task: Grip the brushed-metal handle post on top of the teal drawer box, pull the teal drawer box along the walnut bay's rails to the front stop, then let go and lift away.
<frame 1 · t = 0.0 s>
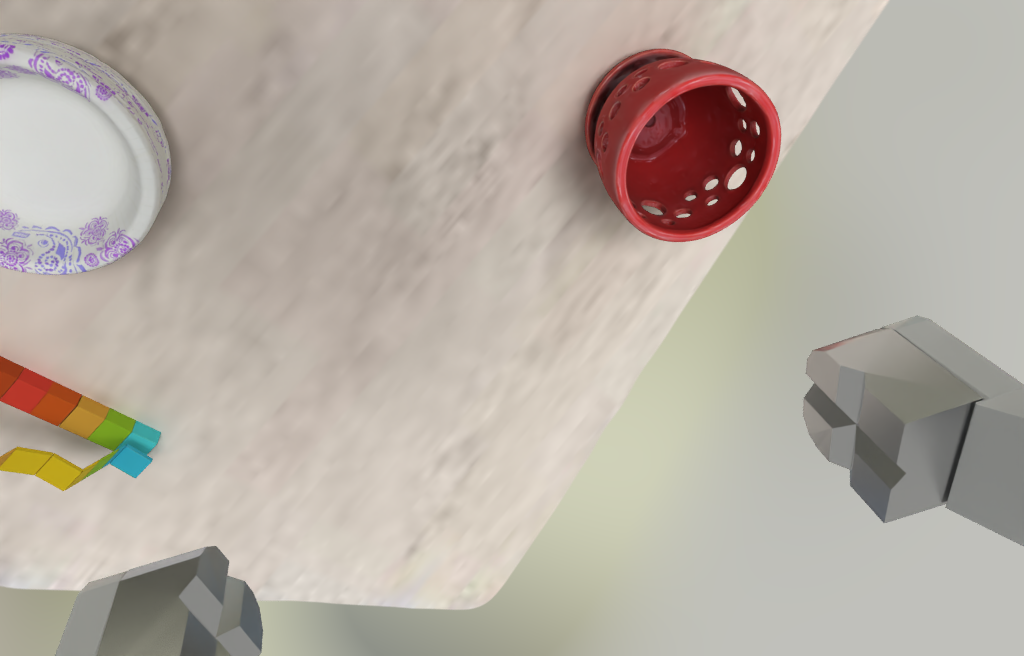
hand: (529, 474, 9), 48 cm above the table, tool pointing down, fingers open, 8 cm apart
plant pot: (638, 119, 58), on the table
paper bowls: (66, 135, 48), on the table
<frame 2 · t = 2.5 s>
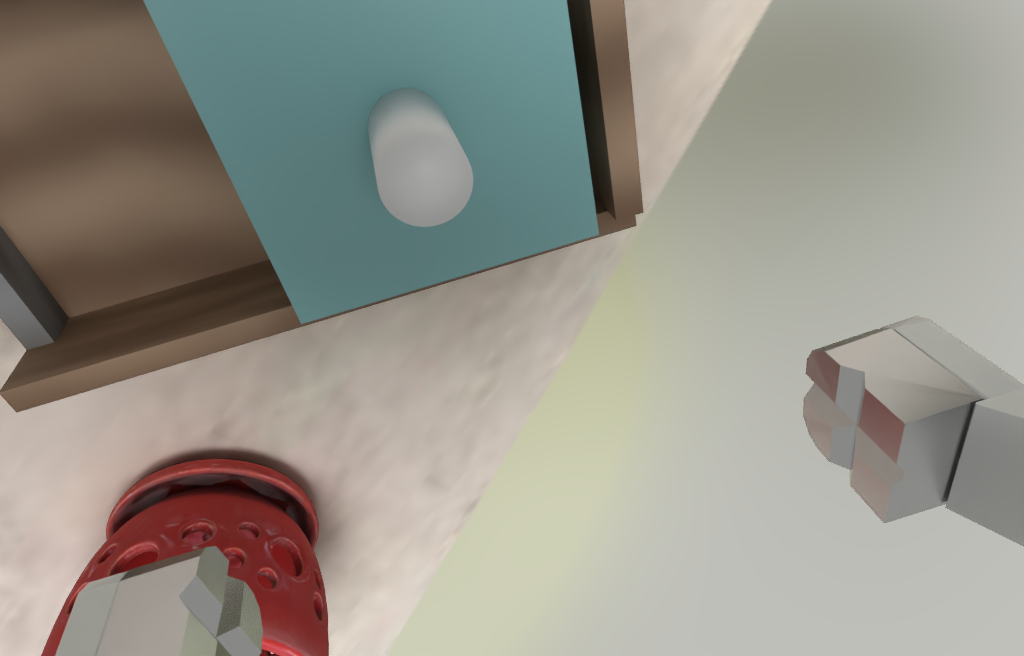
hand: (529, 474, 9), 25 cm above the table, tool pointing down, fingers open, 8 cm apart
bay: (274, 102, 28), on the table
plant pot: (218, 514, 41), on the table
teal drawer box: (400, 121, 22), point 8 cm above the table, slide at 11.0 cm
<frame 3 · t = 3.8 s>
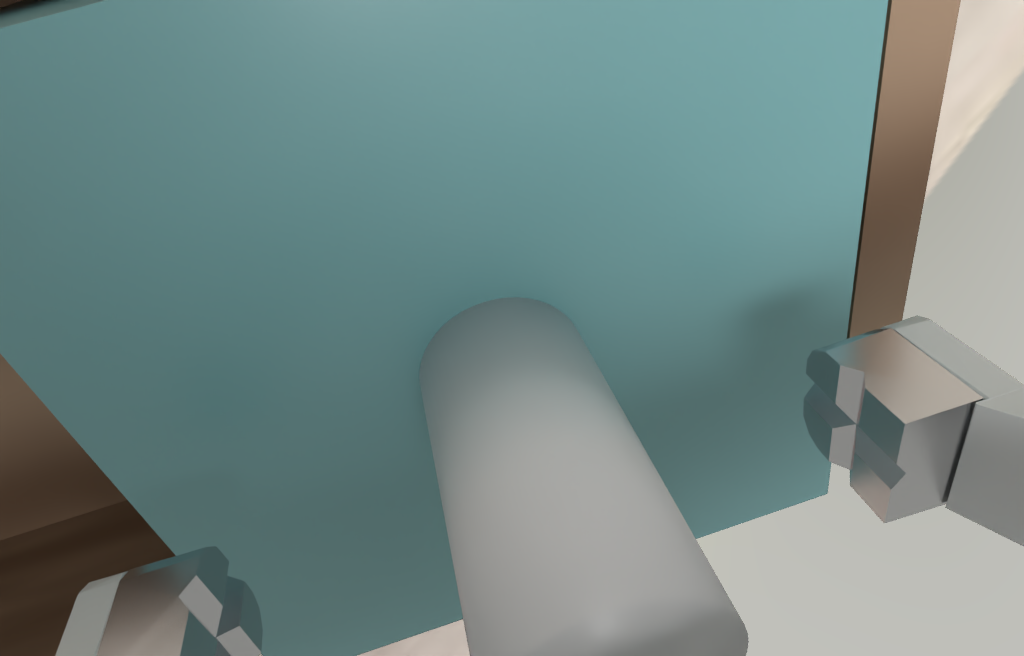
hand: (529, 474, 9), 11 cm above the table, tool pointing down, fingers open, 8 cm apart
bay: (241, 231, 17), on the table
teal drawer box: (481, 337, 11), point 8 cm above the table, slide at 11.0 cm
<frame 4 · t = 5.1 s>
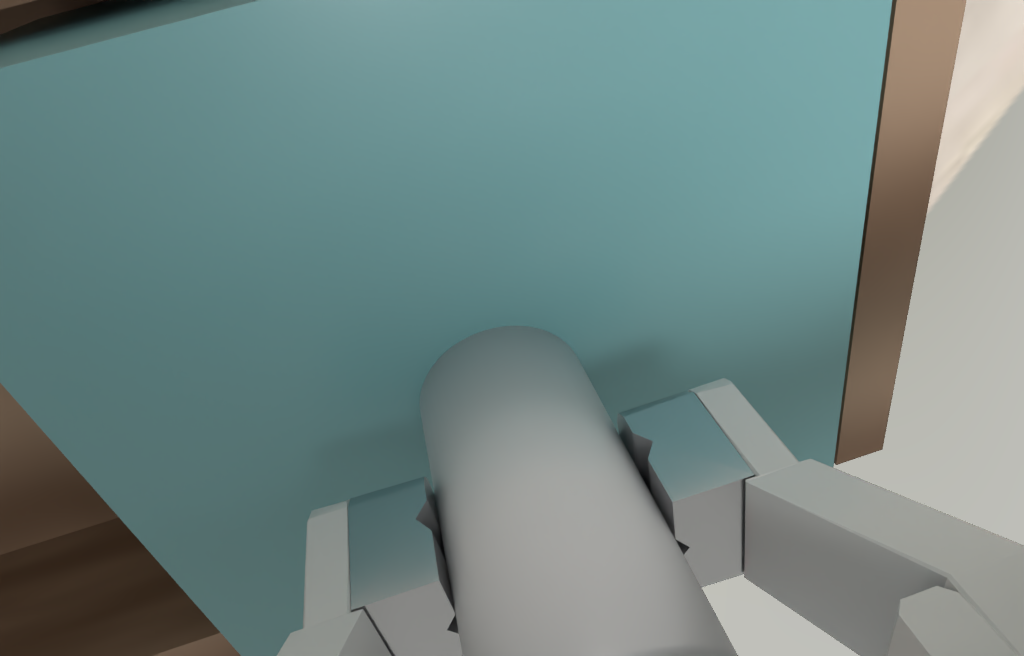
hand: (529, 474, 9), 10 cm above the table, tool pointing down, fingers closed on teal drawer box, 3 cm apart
bay: (242, 248, 17), on the table
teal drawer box: (482, 361, 11), point 8 cm above the table, slide at 11.0 cm, touching gripper
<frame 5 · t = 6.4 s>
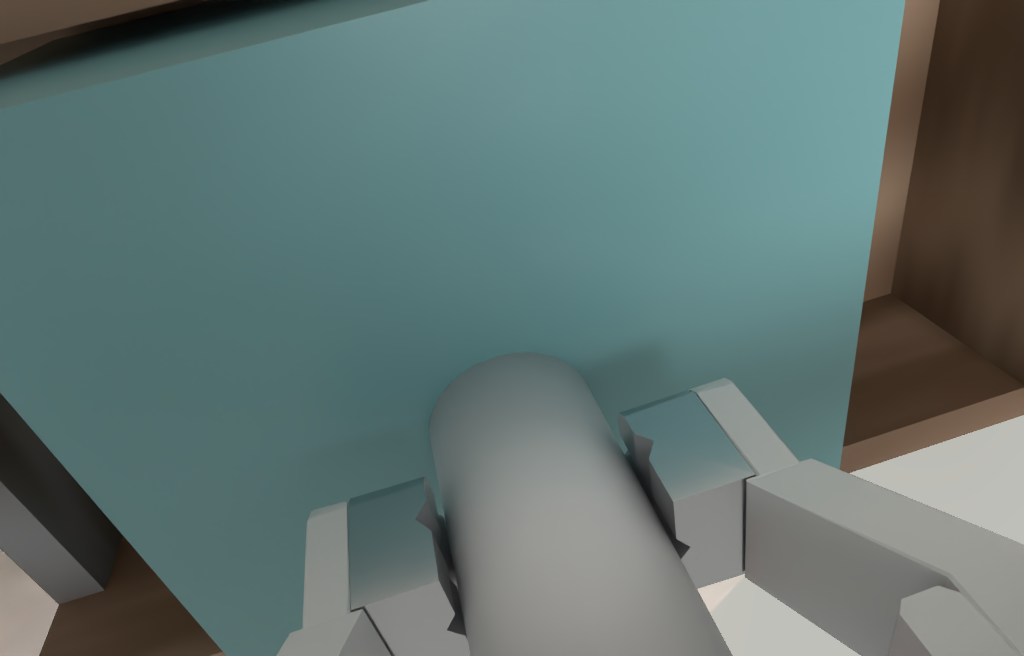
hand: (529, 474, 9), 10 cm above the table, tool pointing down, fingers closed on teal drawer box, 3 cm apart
bay: (472, 202, 17), on the table
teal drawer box: (490, 385, 11), point 8 cm above the table, slide at 4.9 cm, touching gripper
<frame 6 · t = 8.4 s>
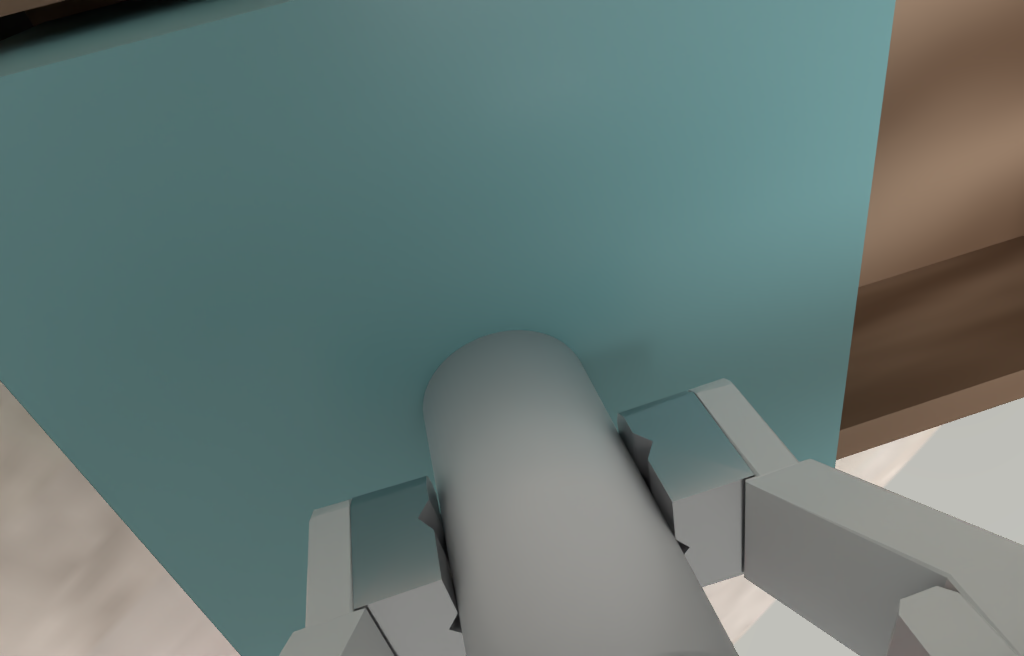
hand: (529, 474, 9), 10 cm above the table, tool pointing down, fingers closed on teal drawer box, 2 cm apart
bay: (645, 135, 18), on the table
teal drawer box: (484, 365, 11), point 8 cm above the table, slide at 0.0 cm, touching gripper
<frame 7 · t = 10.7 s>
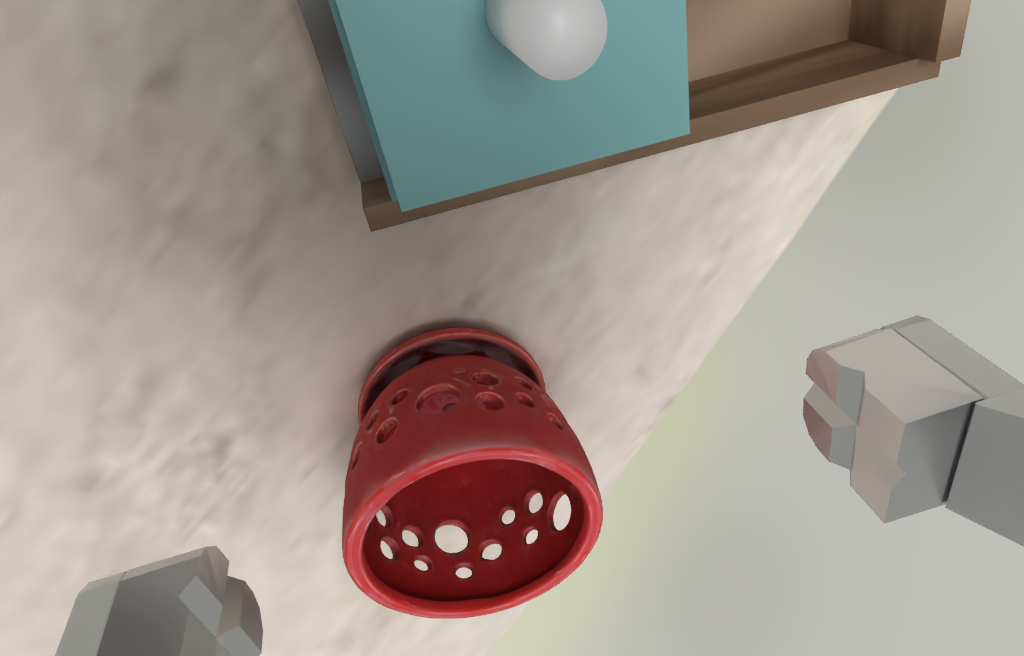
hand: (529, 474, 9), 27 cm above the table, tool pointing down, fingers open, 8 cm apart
plant pot: (446, 394, 42), on the table
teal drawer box: (511, 6, 23), point 8 cm above the table, slide at 0.0 cm
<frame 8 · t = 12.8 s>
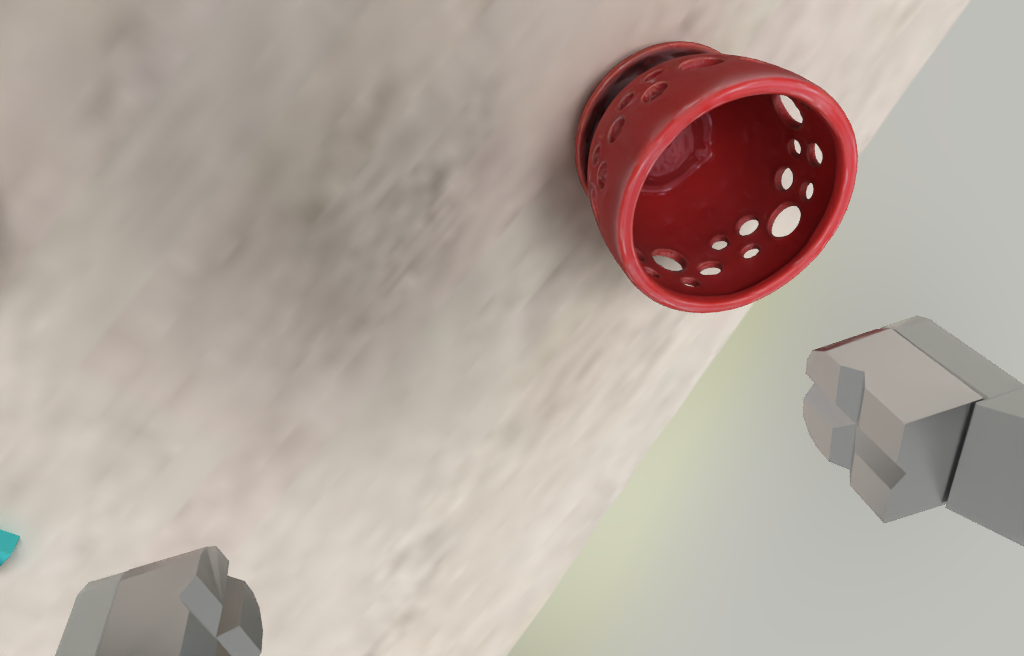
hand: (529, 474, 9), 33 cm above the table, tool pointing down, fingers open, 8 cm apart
plant pot: (647, 137, 43), on the table
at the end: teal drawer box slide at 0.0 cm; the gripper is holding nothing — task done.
